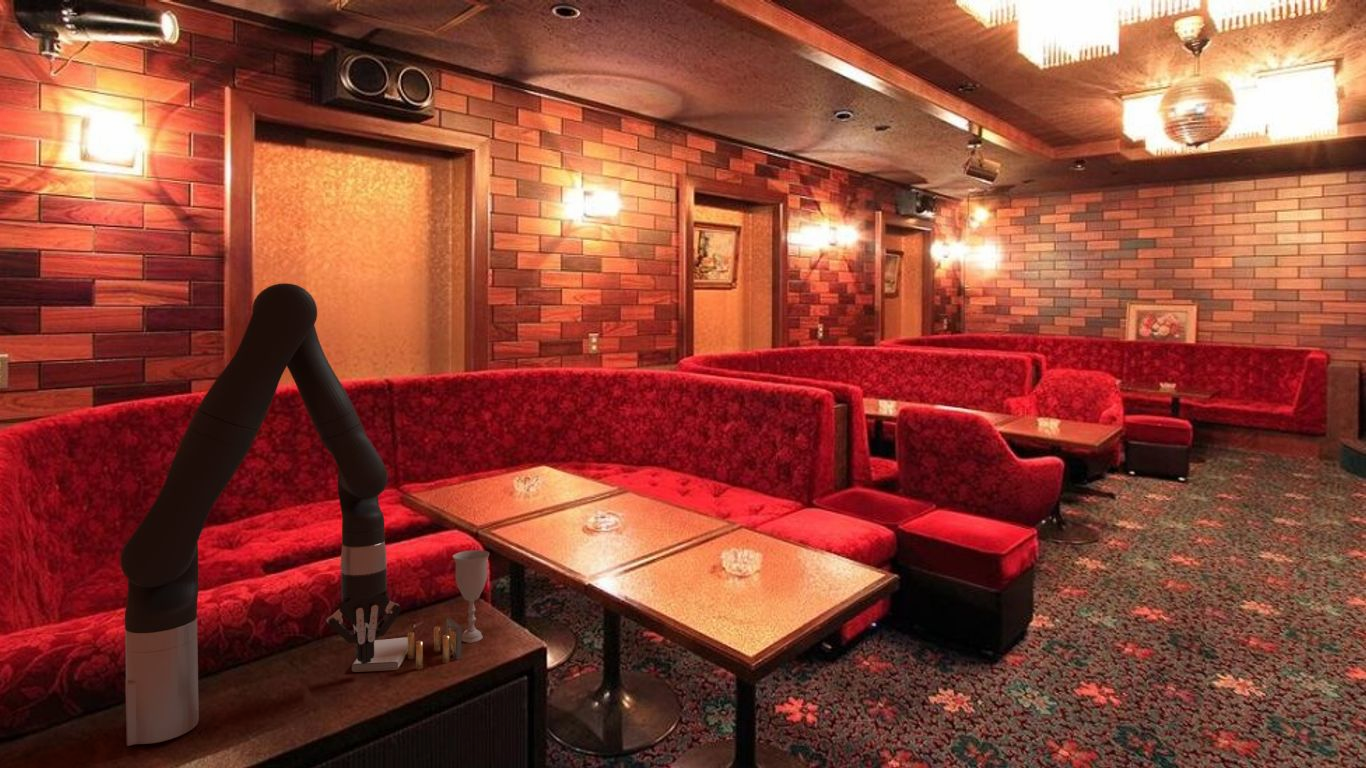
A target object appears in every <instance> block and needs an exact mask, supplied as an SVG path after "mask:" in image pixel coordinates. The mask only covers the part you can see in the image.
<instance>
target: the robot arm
mask: <svg viewBox="0 0 1366 768" xmlns="http://www.w3.org/2000/svg"><path fill="white" fill-rule="evenodd" d="M251 308H252V311H251V313H252V314H251V316H250V319H249V322H248V325H247V327H246V329H245V332H244V334H243V337H242V339H241V342H240V343H239V346H238V347H237V350H236V352H235V353H234V355H233V357H232V359H230V361H229V363H228V364H227V365H226V366H225V368H224V369H223V370H222V372H221V373H220V374H219V376H218V377H217V378H216V380H214V382H213V384H212V385H211V387H210V388H209V389H208V391H207V393H206V394H205V396H204V397H203V399H202V400H201V402H200V403H199V405H198V407H197V409H196V411H195V412H194V414H193V416H192V419H191V420H190V421H189V424H188V426H187V427H186V430H185V432H184V434H183V437H182V439H181V440H180V443H179V445H178V447H177V449H176V451H175V454H174V457H173V459H172V461H171V464H170V467H169V470H168V471H167V475H166V476H165V477H166V478H165V480H164V483H163V485H162V487H161V489H160V491H159V493H158V495H157V497H156V499H155V501H154V502H153V504H152V505H151V507H150V508H149V509H148V511H147V513H146V514H145V516H144V518H143V519H142V520H141V522H140V523H139V524H138V526H137V527H136V529H135V530H134V532H133V533H132V534H131V536H130V537H129V538H128V539H127V541H126V542H125V543H124V545H123V547H122V549H121V551H120V558H119V559H120V560H119V562H120V567H121V570H122V574H123V575H124V576H125V578H126V579H127V582H128V583H127V587H128V588H127V590H128V591H127V597H126V598H127V600H126V604H125V612H124V635H125V636H124V637H125V638H124V639H125V641H124V642H125V717H126V718H125V722H126V726H125V727H126V729H125V731H126V734H125V735H126V746H127V747H128V746H129V747H130V746H133V745H134V746H135V745H146V744H148V745H149V744H157V743H161V742H165V741H169V740H172V739H174V738H177V737H180V736H182V735H184V734H186V733H188V732H190V731H191V730H194V728H195V727H196V726H197V725H198V723H199V713H200V712H199V709H200V707H199V675H198V674H199V667H198V666H199V663H198V661H199V659H198V658H199V657H198V653H199V652H198V651H199V650H198V599H199V598H198V597H199V542H198V541H199V539H200V537H201V533H202V532H203V528H204V526H205V525H206V521H207V520H208V517H209V515H210V513H211V511H212V510H213V506H214V505H215V503H216V502H217V500H218V499H219V497H220V496H221V495H222V493H223V492H224V490H225V488H226V487H227V486H228V485H229V483H230V481H231V480H232V478H233V477H234V475H235V474H236V472H237V471H238V469H239V467H240V466H241V464H242V463H243V461H244V460H245V458H246V456H247V454H248V453H249V451H250V449H251V447H252V445H253V444H254V441H255V439H256V438H257V435H258V434H259V431H260V430H261V427H262V425H263V423H264V420H265V418H266V417H267V414H268V412H269V410H270V407H271V405H272V402H273V399H274V396H275V393H277V392H276V391H277V389H278V386H279V383H280V381H281V379H282V376H283V374H284V372H285V370H286V368H287V369H288V371H289V373H290V375H291V377H292V379H293V381H294V383H295V385H296V387H297V390H298V392H299V394H300V396H301V400H302V401H303V404H304V406H305V409H306V411H307V414H308V416H309V418H310V420H311V423H312V424H313V427H314V429H315V430H316V433H317V435H318V437H319V438H320V441H321V443H322V444H323V446H324V447H325V450H327V451H328V452H329V453H330V454H331V456H332V457H333V459H334V461H335V463H336V465H337V467H338V469H339V470H338V472H337V492H338V498H339V506H340V511H341V518H342V522H341V544H342V545H341V552H340V566H339V567H340V568H339V569H340V580H341V581H340V586H341V587H340V590H341V591H340V592H341V595H340V596H341V598H340V601H339V604H338V605H337V608H338V609H337V610H336V611H335V612H334V613H332V615H331V614H329V615H327V616H326V618H325V621H326V622H327V624H328V626H330V627H331V628H332V630H334V631H335V632H336V633H337V634H338V635H339V636H340V637H342V639H343V640H345V641H346V642H347V643H348V644H355V658H356V659H357V660H358V661H360V662H361V664H364V663H369V662H371V659H372V658H373V657H374V641H375V640H377V639H378V638H379V637H384V636H385V635H386V633H388V630H389V629H390V627H391V626H392V625H393V623H394V622H395V620H396V619H397V617H398V616H399V614H400V613H401V612H402V606H401V605H400V604H399V603H397V602H393V601H391V600H390V599H391V598H390V596H389V594H388V590H387V589H388V582H387V580H388V576H387V574H388V571H387V548H386V542H385V541H386V538H385V517H384V513H383V511H382V509H381V507H380V503H379V502H380V501H379V495H381V493H383V492H384V490H385V489H386V487H387V484H388V479H389V475H388V470H387V467H386V466H385V463H384V461H383V459H382V457H381V456H380V454H379V453H378V451H377V449H376V448H375V446H374V444H373V443H372V442H371V440H370V438H369V437H368V436H367V435H368V434H366V431H365V430H364V426H363V424H362V422H361V420H360V418H359V415H358V413H357V411H356V409H355V406H354V404H353V402H352V401H351V398H350V397H349V395H348V394H347V391H346V390H345V388H344V387H343V384H342V383H341V381H340V380H339V378H338V377H337V375H336V373H335V371H334V370H333V368H332V366H331V365H330V362H329V361H328V359H327V357H326V355H325V352H324V350H323V348H322V345H321V343H320V340H319V337H318V333H317V331H316V330H317V329H316V326H315V324H316V322H317V319H318V318H317V317H318V307H317V304H316V301H315V299H314V297H313V295H311V293H310V292H309V291H308V290H306V289H305V288H303V287H302V286H301V285H300V286H299V285H296V284H292V283H288V282H286V283H285V282H284V283H283V282H282V283H281V282H280V283H277V284H272V285H269V286H268V287H266V288H264V289H263V290H261V291H260V292H259V293H258V294H257V296H256V297H255V299H254V301H253V304H252V307H251ZM384 612H385V613H384ZM383 613H384V615H383V616H382V614H383ZM342 616H343V617H345V618H346V620H348V622H349V623H350V624H351V625H352V627H353V632H354V633H353V632H350V631H349V630H348V629H347V628H346V627H345V626H343V622H344V620H343V617H342ZM381 616H382V618H381V619H380V617H381ZM379 619H380V621H379V622H378V620H379Z"/></svg>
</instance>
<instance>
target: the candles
mask: <svg viewBox="0 0 1366 768" xmlns="http://www.w3.org/2000/svg"><path fill="white" fill-rule="evenodd" d="M445 620H446V622H445V623H446V624H445V625H446V634H444V635H442V663H443V664H448V663H450V659H451V658H450V652H451V653H452V657H453V658H455V659H456V660H457V661H459V660H462V640H461V637H462V634H463V631H462V629H463V628H462V626H461V625H460V624H458V622H456V621H455V620H454V619H453V618H452V617H446V619H445ZM407 637H408V651H407V659H408V660H413V659H415V670H418V671H420V670H423V668H424V646H423V645H424V644H423V643H424V642H423V640H417V641H416V642H415V632H413V631H410V632H408V633H407ZM433 650H434V652H435V653H436V652H437V653H438V652H440V651H441V626H434V627H433Z"/></svg>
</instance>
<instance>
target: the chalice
mask: <svg viewBox="0 0 1366 768" xmlns="http://www.w3.org/2000/svg"><path fill="white" fill-rule="evenodd" d="M489 556H490V551H487V550H481V549H480V550H477V549H475V550H474V549H473V550H465V551H460V552H457V553H455V554H453V555H452V558H453V559H454V562H455V582H456V585H457V587H458V590H459V592H460V594H461V596H462V598H463V599H464V600H465V601H468V604H469V605H468V609H467V612H468V617H467V619H466V620H467V621H468V624H469V625H468V628H467V629H465V630H464V631H463V632H462V634H461V642H464V643H465V644H466V643H467V644H475V643H476V642H479V641H480V640H482V639H483V635H482V632H481V631H480V630H479V629H478V628H476V627H475V622H476V620H477V618H476V617H475V612H476V607H475V601H476V600H478V599H479V598H480V596H481V594H482V592H483V590H484V588H485V585H486V582H487V580H488V559H489Z"/></svg>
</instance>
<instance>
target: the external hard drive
mask: <svg viewBox="0 0 1366 768" xmlns="http://www.w3.org/2000/svg"><path fill="white" fill-rule="evenodd" d="M407 654H408V636H406V637H405V636H404V637H398V638H397V637H396V638H395V637H394V638H389V639H387V638H386V639H375V641H374V657H373V658H372V659H371V662H369V663H364V664H361V662H360V661H358V660H357V658H356V659H355V660H354V662H353V663H352V664H351V671H352V672H354V673H357V672H358V673H359V672H360V673H362V672H378V671H381V672H382V671H383V672H384V671H396V670H398V669H399V668H400V666H401V665H402V663H403V662H404V659H405V658H406V656H407Z"/></svg>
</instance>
